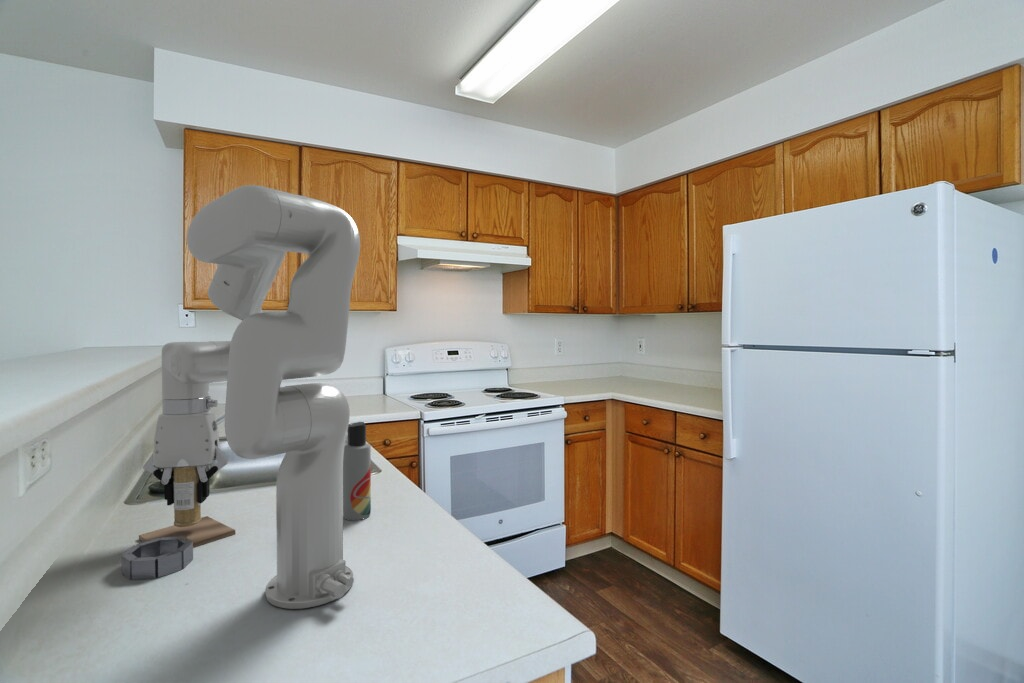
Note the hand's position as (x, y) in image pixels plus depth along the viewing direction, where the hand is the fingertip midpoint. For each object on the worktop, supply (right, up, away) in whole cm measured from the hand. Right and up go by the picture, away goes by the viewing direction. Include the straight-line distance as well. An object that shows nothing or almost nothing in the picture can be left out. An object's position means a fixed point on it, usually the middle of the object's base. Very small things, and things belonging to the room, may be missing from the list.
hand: (187, 500), depth 97 cm
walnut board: (0, -7, 0) cm, 7 cm away
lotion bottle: (+29, -7, +11) cm, 32 cm away
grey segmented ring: (+3, -7, -11) cm, 14 cm away
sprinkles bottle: (0, -5, 0) cm, 5 cm away
